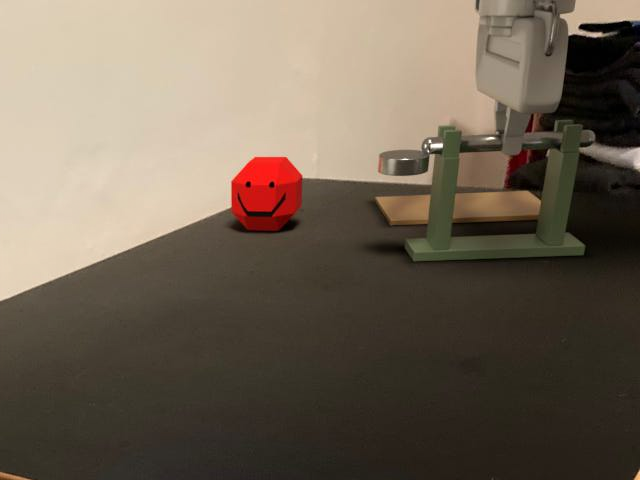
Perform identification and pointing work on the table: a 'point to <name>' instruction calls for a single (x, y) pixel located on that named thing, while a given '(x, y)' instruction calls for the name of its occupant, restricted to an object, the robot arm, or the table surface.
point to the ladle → (466, 150)
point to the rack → (541, 244)
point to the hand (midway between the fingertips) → (506, 151)
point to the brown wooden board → (463, 207)
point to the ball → (266, 193)
